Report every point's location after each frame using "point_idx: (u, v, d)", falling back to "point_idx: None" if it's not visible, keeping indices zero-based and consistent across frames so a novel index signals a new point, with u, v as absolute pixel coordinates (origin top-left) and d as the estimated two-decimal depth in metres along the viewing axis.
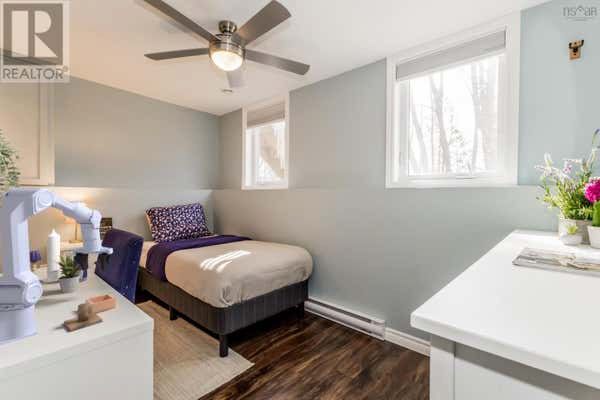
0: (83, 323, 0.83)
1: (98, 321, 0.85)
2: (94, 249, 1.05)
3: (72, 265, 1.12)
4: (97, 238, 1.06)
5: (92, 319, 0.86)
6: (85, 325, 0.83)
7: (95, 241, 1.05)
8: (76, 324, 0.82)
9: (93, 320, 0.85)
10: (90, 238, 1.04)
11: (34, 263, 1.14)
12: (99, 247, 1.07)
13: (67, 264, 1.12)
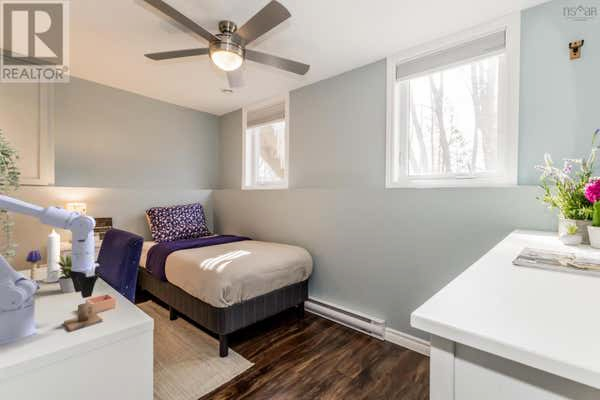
0: (83, 323, 0.83)
1: (98, 321, 0.85)
2: (77, 266, 0.82)
3: None
4: (79, 253, 0.82)
5: (92, 319, 0.86)
6: (85, 325, 0.83)
7: (80, 256, 0.82)
8: (76, 324, 0.82)
9: (93, 320, 0.85)
10: (72, 251, 0.82)
11: (34, 263, 1.14)
12: (85, 265, 0.83)
13: (67, 264, 1.12)
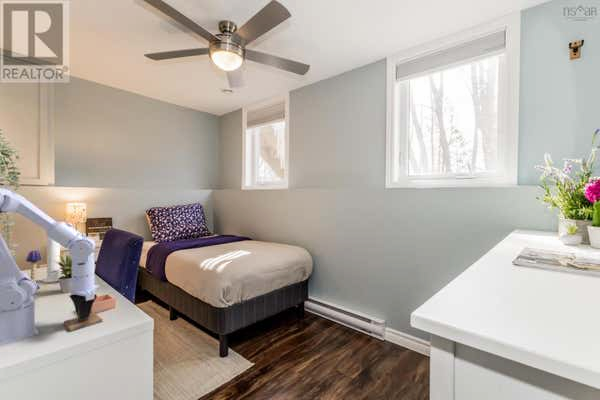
0: (83, 323, 0.83)
1: (98, 321, 0.85)
2: (77, 290, 0.82)
3: None
4: (79, 276, 0.82)
5: (92, 319, 0.86)
6: (85, 325, 0.83)
7: (80, 279, 0.82)
8: (76, 324, 0.82)
9: (93, 320, 0.85)
10: (72, 274, 0.83)
11: (34, 263, 1.14)
12: (85, 288, 0.83)
13: (67, 264, 1.12)
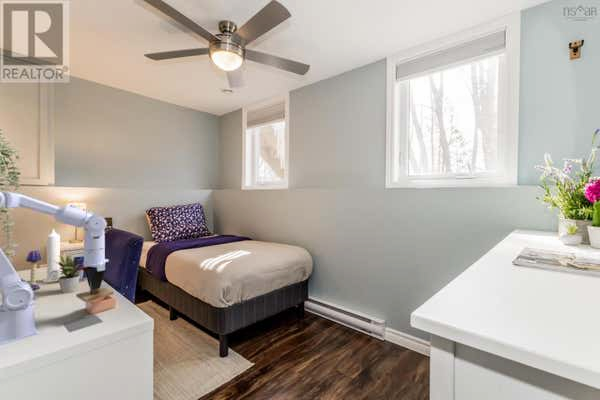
0: (96, 295, 0.90)
1: (109, 293, 0.92)
2: (89, 262, 0.88)
3: (72, 265, 1.12)
4: (94, 249, 0.89)
5: (103, 292, 0.92)
6: (98, 297, 0.89)
7: (91, 252, 0.89)
8: (89, 296, 0.89)
9: (105, 293, 0.92)
10: (86, 248, 0.88)
11: (34, 263, 1.14)
12: (96, 261, 0.89)
13: (67, 264, 1.12)
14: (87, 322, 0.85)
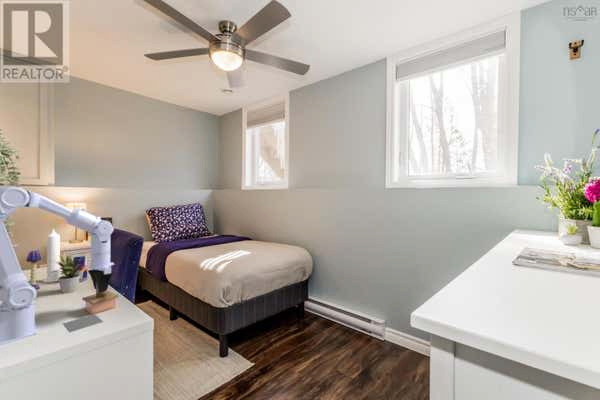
0: (102, 298, 0.94)
1: (115, 297, 0.96)
2: (96, 265, 0.93)
3: (72, 265, 1.12)
4: (102, 253, 0.93)
5: (109, 295, 0.96)
6: (104, 300, 0.93)
7: (98, 256, 0.93)
8: (96, 299, 0.93)
9: (110, 296, 0.96)
10: (94, 252, 0.93)
11: (34, 263, 1.14)
12: (103, 264, 0.94)
13: (67, 264, 1.12)
14: (87, 322, 0.85)
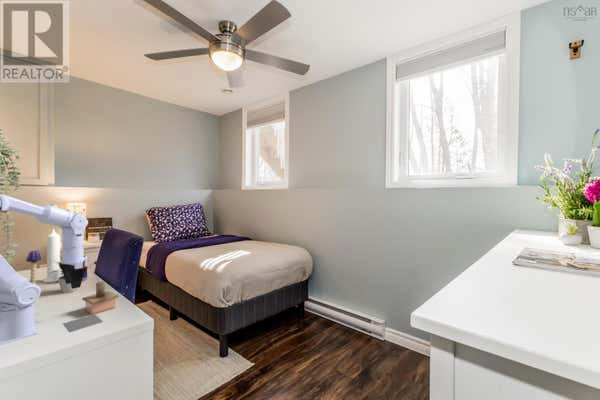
0: (102, 298, 0.94)
1: (115, 297, 0.96)
2: (67, 260, 0.89)
3: None
4: (77, 247, 0.91)
5: (109, 295, 0.96)
6: (104, 300, 0.93)
7: (69, 250, 0.90)
8: (96, 299, 0.93)
9: (110, 296, 0.96)
10: (68, 245, 0.89)
11: (34, 263, 1.14)
12: (75, 258, 0.90)
13: None
14: (87, 322, 0.85)
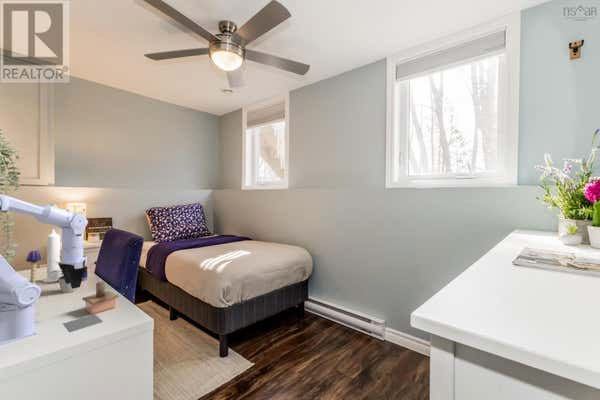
0: (102, 298, 0.94)
1: (115, 297, 0.96)
2: (67, 259, 0.89)
3: None
4: (77, 246, 0.91)
5: (109, 295, 0.96)
6: (104, 300, 0.93)
7: (69, 250, 0.89)
8: (96, 299, 0.93)
9: (110, 296, 0.96)
10: (68, 245, 0.89)
11: (34, 263, 1.14)
12: (74, 258, 0.90)
13: None
14: (87, 322, 0.85)
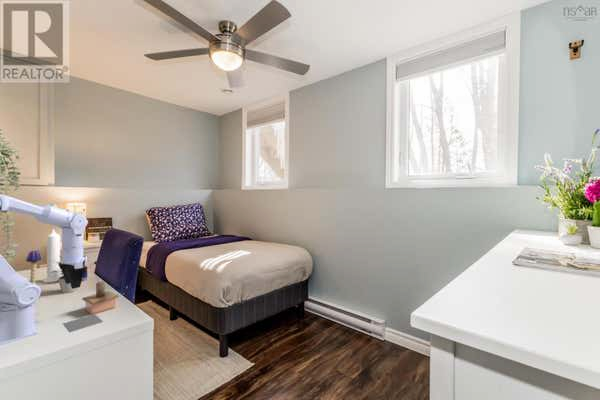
0: (102, 298, 0.94)
1: (115, 297, 0.96)
2: (67, 259, 0.89)
3: None
4: (77, 246, 0.91)
5: (109, 295, 0.96)
6: (104, 300, 0.93)
7: (69, 250, 0.89)
8: (96, 299, 0.93)
9: (110, 296, 0.96)
10: (68, 245, 0.89)
11: (34, 263, 1.14)
12: (74, 258, 0.90)
13: None
14: (87, 322, 0.85)
